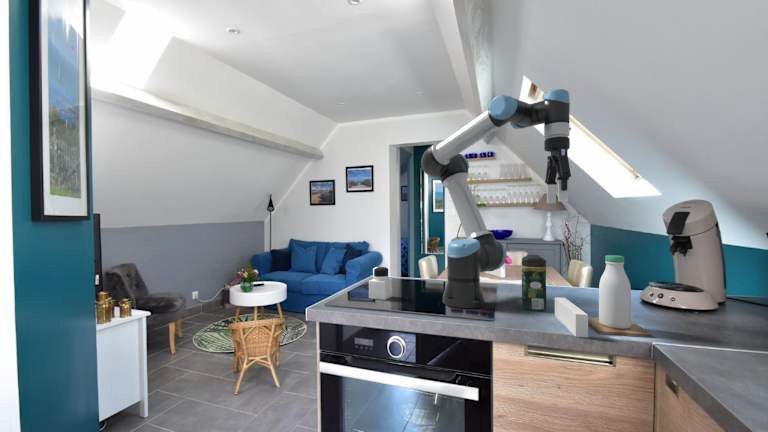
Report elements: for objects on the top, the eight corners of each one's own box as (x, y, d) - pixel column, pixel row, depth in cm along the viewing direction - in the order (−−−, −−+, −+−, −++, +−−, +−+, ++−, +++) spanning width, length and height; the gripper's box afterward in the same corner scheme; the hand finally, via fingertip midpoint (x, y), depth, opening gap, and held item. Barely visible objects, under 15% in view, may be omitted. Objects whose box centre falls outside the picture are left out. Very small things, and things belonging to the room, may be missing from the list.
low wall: (575, 336, 93) (575, 314, 93) (554, 315, 113) (554, 297, 113) (588, 337, 92) (588, 314, 92) (564, 316, 112) (564, 297, 112)
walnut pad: (599, 334, 95) (599, 331, 95) (582, 320, 108) (582, 317, 108) (653, 337, 92) (653, 334, 92) (629, 322, 105) (629, 320, 105)
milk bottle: (635, 331, 95) (634, 257, 95) (602, 327, 98) (602, 256, 98) (626, 322, 102) (626, 254, 103) (596, 320, 105) (596, 253, 105)
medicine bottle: (392, 296, 140) (392, 266, 140) (385, 300, 134) (385, 269, 134) (376, 294, 143) (376, 265, 143) (368, 298, 137) (368, 268, 137)
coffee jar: (520, 303, 128) (520, 253, 128) (544, 305, 126) (544, 254, 126) (522, 310, 119) (522, 256, 119) (548, 312, 116) (547, 257, 117)
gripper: (582, 128, 102) (582, 200, 102) (558, 145, 127) (558, 203, 127) (555, 129, 104) (555, 200, 104) (536, 146, 128) (536, 203, 128)
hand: (556, 202), depth 115 cm, fingers open, 13 cm apart
